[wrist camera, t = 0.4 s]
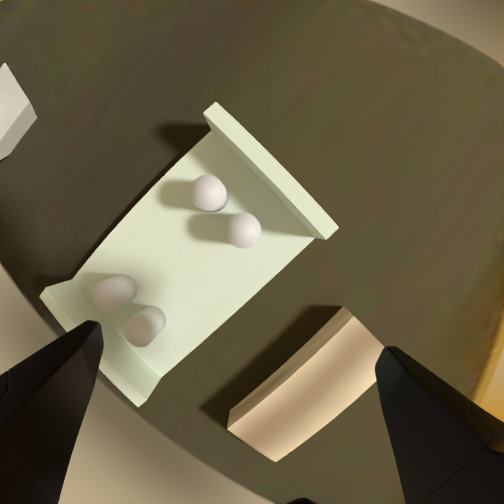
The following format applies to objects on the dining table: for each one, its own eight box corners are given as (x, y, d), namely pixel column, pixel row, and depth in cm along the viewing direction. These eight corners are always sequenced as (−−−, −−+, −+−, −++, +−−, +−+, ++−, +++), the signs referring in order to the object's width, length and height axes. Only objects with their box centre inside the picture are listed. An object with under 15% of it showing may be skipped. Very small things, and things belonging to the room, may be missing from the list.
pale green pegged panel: (322, 227, 22) (339, 227, 17) (156, 379, 23) (138, 407, 18) (223, 125, 21) (216, 101, 17) (71, 285, 22) (39, 296, 18)
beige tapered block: (382, 345, 23) (397, 360, 20) (273, 440, 24) (275, 462, 21) (342, 305, 23) (353, 316, 20) (230, 408, 23) (226, 428, 20)
